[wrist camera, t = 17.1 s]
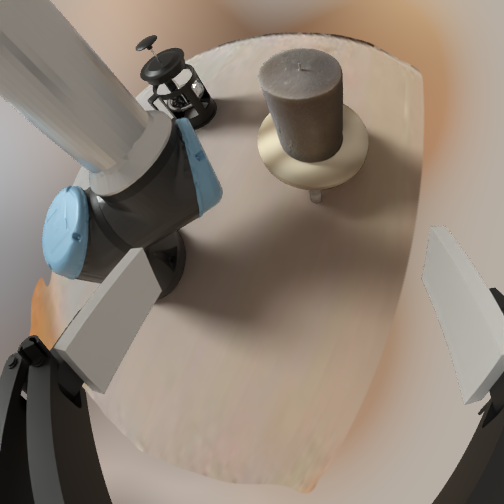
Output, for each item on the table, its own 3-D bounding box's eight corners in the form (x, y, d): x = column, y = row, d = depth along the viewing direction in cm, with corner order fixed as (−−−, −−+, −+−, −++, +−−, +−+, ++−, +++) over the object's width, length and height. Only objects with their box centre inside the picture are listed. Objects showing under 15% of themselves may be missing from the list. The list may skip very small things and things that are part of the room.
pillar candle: (356, 139, 37) (361, 64, 23) (307, 176, 37) (294, 104, 23) (312, 104, 40) (300, 31, 26) (265, 136, 41) (237, 66, 26)
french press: (202, 91, 57) (157, 21, 35) (227, 105, 54) (182, 26, 32) (165, 124, 57) (108, 61, 35) (187, 142, 54) (125, 71, 32)
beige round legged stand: (249, 163, 49) (235, 140, 42) (313, 110, 49) (309, 82, 41) (316, 226, 44) (313, 209, 36) (382, 162, 43) (390, 137, 36)
